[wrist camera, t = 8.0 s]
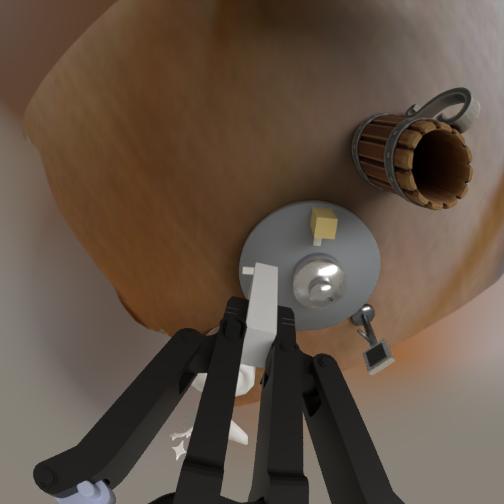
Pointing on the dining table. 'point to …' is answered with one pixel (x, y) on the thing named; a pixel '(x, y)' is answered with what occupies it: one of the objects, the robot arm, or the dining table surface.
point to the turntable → (312, 241)
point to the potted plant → (243, 387)
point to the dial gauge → (372, 342)
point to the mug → (419, 151)
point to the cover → (318, 280)
